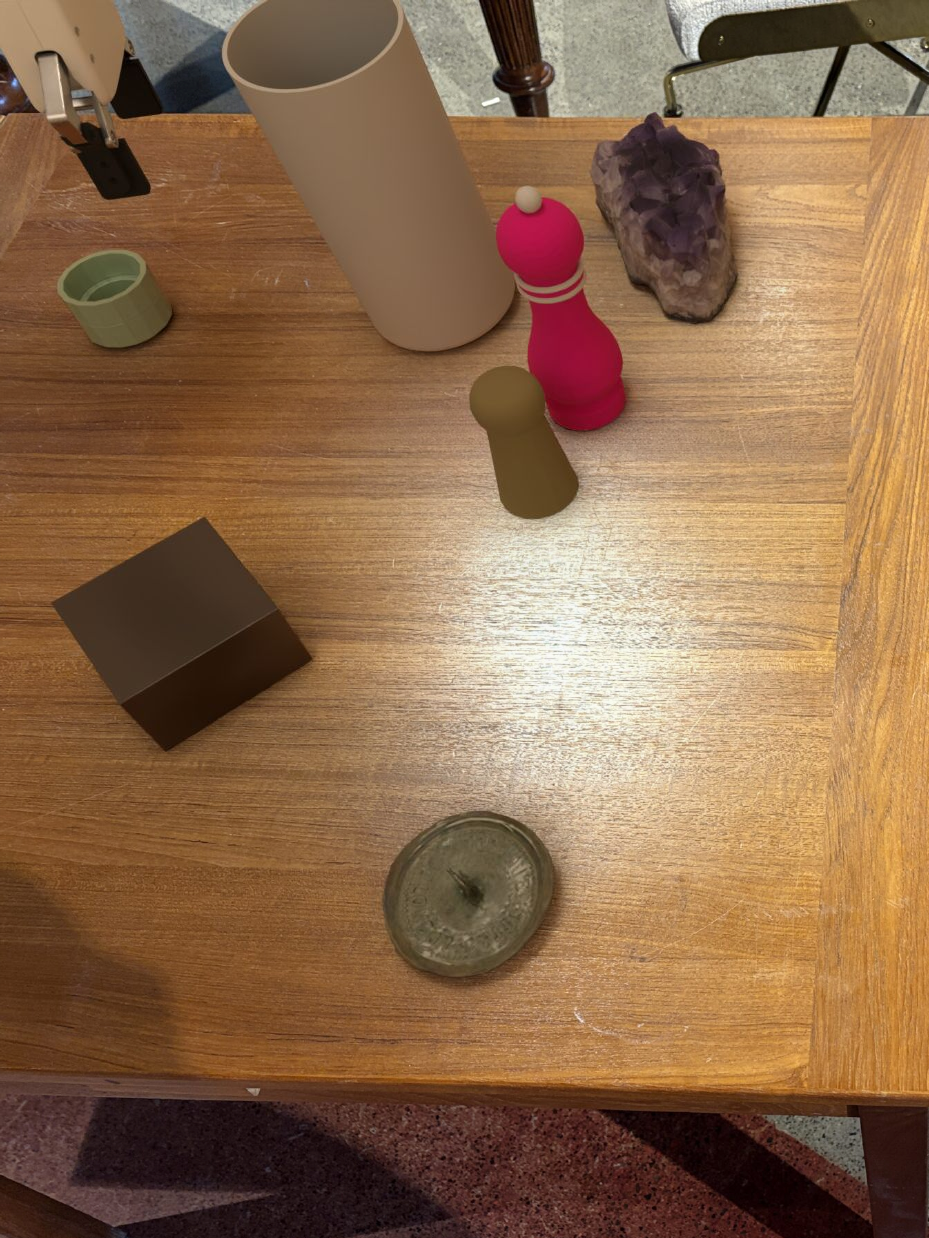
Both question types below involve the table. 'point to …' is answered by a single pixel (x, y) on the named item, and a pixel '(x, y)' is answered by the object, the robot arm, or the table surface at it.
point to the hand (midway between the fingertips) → (135, 153)
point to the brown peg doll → (522, 443)
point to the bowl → (115, 298)
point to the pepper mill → (561, 313)
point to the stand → (182, 633)
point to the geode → (668, 217)
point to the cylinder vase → (374, 163)
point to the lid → (467, 894)
